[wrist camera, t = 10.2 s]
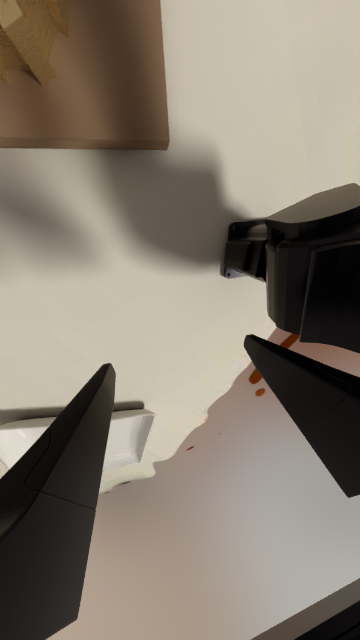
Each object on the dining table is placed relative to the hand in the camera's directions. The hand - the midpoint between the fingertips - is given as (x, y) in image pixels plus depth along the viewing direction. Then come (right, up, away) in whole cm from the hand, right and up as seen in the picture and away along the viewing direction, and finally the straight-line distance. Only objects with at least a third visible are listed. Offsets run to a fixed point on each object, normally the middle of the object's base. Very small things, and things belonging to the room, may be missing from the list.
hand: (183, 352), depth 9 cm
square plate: (-22, -26, +25) cm, 42 cm away
